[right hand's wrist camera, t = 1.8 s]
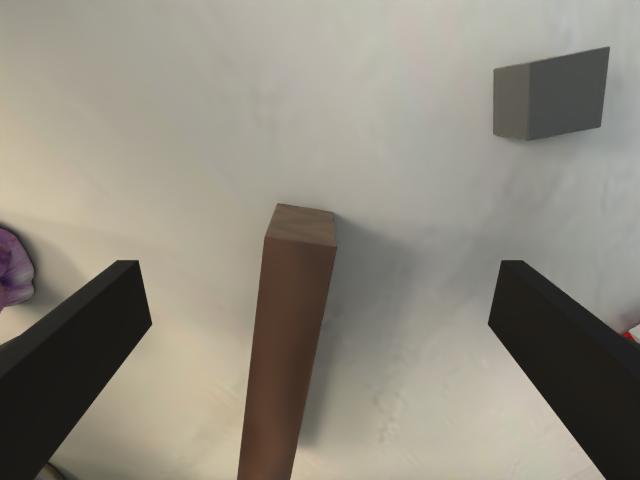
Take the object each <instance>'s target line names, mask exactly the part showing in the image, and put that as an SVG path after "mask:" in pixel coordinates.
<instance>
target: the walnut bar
mask: <svg viewBox="0 0 640 480" xmlns="http://www.w3.org/2000/svg"><path fill="white" fill-rule="evenodd" d="M336 250H337V244H336V237H335V229H334V222H333V214H332V212H328V211H321V210H315V209H309V208H302V207H296V206H290V205H283V204H277V206H276V209H275V211H274V214H273V217H272V219H271V222H270V224H269V227H268V229H267V232H266V235H265V238H264V247H263V256H262V265H261V273H260V282H259V291H258V300H257V309H256V317H255V326H254V335H253V344H252V353H251V361H250V370H249V379H248V388H247V397H246V405H245V414H244V423H243V432H242V440H241V449H240V458H239V467H238V476H237V480H290V478H291V473H292V468H293V463H294V458H295V453H296V448H297V443H298V438H299V433H300V428H301V423H302V418H303V413H304V408H305V404H306V399H307V394H308V389H309V384H310V379H311V374H312V369H313V364H314V359H315V354H316V349H317V344H318V339H319V334H320V329H321V324H322V319H323V314H324V309H325V304H326V299H327V294H328V289H329V284H330V279H331V274H332V269H333V265H334V260H335V255H336Z"/></svg>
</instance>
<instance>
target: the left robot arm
mask: <svg viewBox="0 0 640 480" xmlns="http://www.w3.org/2000/svg"><path fill="white" fill-rule="evenodd" d="M34 480H64V479H63V477H62V476H61V475H60V474H59V473H58V472H57V471H56V470H55V469H54V468H52V467H51V466H50V465H48V464H47V463H46V464H45V466H44V467H43V468H42V470H41V471H40V472H39V474H38V475H37V476H36V478H35V479H34Z"/></svg>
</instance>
